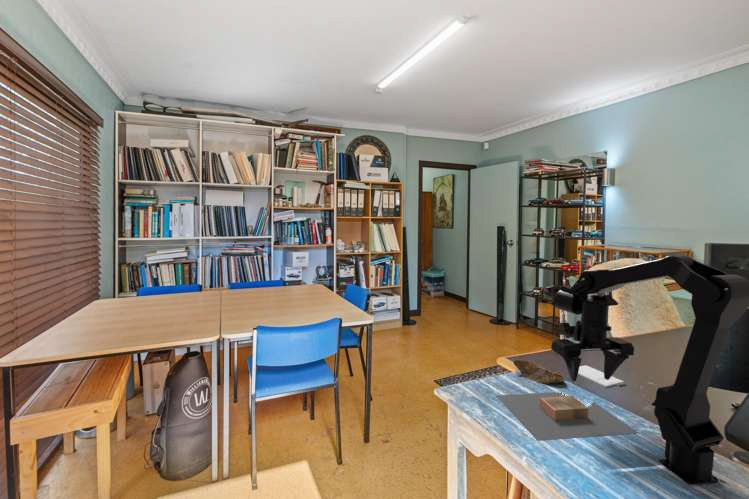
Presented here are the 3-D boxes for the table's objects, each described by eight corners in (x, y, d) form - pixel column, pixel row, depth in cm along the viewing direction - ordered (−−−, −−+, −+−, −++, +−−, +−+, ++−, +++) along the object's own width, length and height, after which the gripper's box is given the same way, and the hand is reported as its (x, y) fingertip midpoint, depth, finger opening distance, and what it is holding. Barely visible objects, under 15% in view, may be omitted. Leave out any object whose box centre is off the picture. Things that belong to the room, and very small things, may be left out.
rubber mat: (639, 434, 81) (639, 433, 81) (537, 442, 78) (537, 440, 78) (578, 392, 101) (578, 390, 101) (495, 396, 98) (495, 395, 98)
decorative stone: (524, 351, 119) (571, 371, 108) (521, 363, 119) (569, 384, 108) (510, 358, 112) (559, 380, 101) (507, 371, 113) (556, 394, 102)
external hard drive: (586, 369, 118) (624, 386, 106) (568, 373, 115) (605, 390, 103) (586, 364, 118) (624, 380, 106) (568, 368, 115) (605, 385, 103)
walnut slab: (588, 408, 87) (554, 410, 86) (587, 417, 87) (554, 420, 86) (572, 395, 93) (540, 397, 92) (571, 405, 93) (539, 407, 92)
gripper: (603, 310, 98) (599, 365, 99) (540, 312, 95) (537, 368, 96) (638, 322, 86) (633, 383, 88) (567, 324, 84) (564, 387, 85)
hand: (590, 379), depth 90 cm, fingers open, 9 cm apart
